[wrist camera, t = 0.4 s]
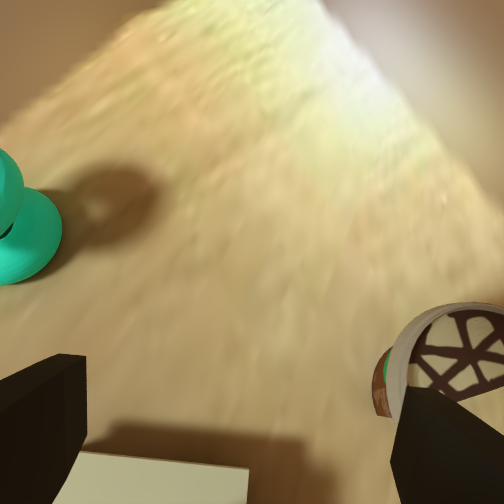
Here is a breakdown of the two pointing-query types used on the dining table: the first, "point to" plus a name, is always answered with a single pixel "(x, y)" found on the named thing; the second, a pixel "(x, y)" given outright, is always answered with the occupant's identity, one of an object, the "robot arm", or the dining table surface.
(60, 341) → the dining table surface
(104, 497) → the lid
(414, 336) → the food container
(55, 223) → the donuts
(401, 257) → the dining table surface
